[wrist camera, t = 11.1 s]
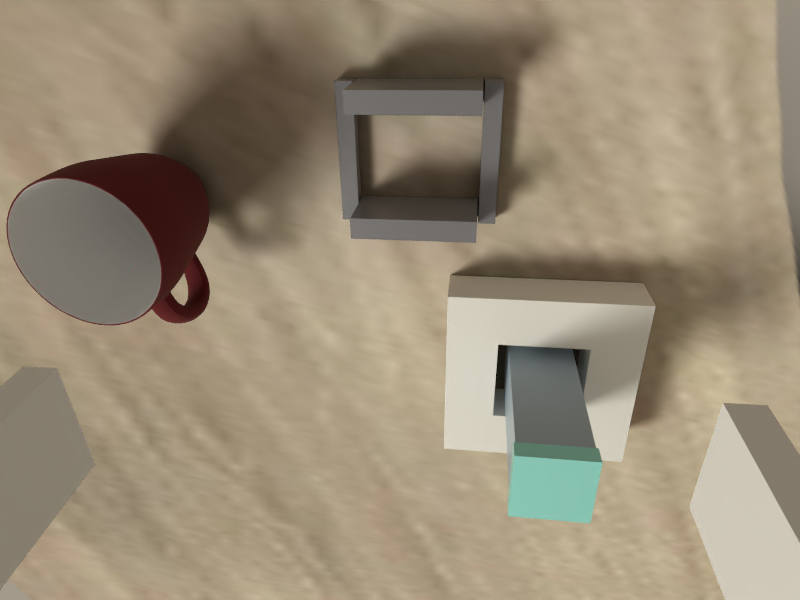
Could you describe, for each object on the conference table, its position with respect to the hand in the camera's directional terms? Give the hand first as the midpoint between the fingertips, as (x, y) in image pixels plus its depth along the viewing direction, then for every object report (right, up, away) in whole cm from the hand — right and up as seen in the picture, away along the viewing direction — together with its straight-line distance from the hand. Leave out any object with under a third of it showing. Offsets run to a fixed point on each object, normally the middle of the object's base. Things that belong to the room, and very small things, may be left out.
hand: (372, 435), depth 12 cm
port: (+10, -1, +28) cm, 30 cm away
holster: (+2, +11, +22) cm, 25 cm away
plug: (+10, -1, +28) cm, 30 cm away
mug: (-13, +9, +26) cm, 31 cm away
